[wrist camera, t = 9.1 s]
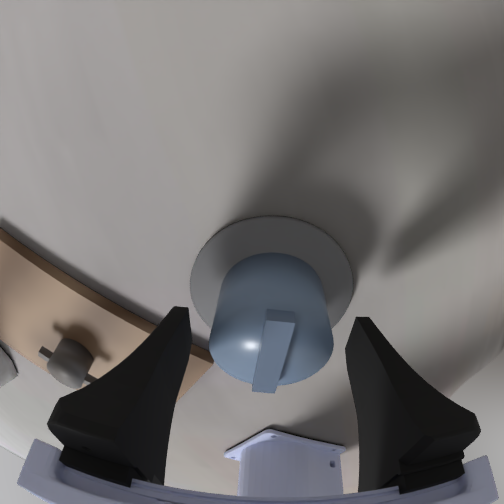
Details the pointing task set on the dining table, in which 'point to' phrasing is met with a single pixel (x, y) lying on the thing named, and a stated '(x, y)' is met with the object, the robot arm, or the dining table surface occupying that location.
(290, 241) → the coaster
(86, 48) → the dining table surface
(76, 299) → the post base
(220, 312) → the cap
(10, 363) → the flask
